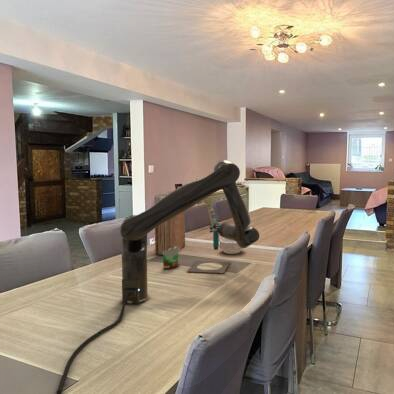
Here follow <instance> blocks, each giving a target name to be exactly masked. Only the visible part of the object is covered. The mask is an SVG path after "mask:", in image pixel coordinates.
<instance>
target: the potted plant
mask: <svg viewBox="0 0 394 394" xmlns="http://www.w3.org/2000/svg"><path fill="white" fill-rule="evenodd" d="M180 252H181V249H179V247H178V246H176V245H173V247H172V248H168V249H167V250H163V252H162V255H161V256H162V264H163V270H172V269H176V268H178V265H179V254H180Z"/></svg>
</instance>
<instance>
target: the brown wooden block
mask: <svg viewBox="0 0 394 394" xmlns="http://www.w3.org/2000/svg"><path fill="white" fill-rule="evenodd" d="M173 245H176V246H178V247H179V249H180V250H181V249H183V248H184V247H186V211H185V212H183V213H181V214H179V215H178V216H176V217H174V218H172V219H170V220H168V221H166V222H164V223H162V224H160V225H159V226H157V227H156V228H154V253H155V256H158V255H159V256H160V255H161V256H163V255H162V252H163V250H167V249H168V248H172V247H173Z"/></svg>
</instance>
